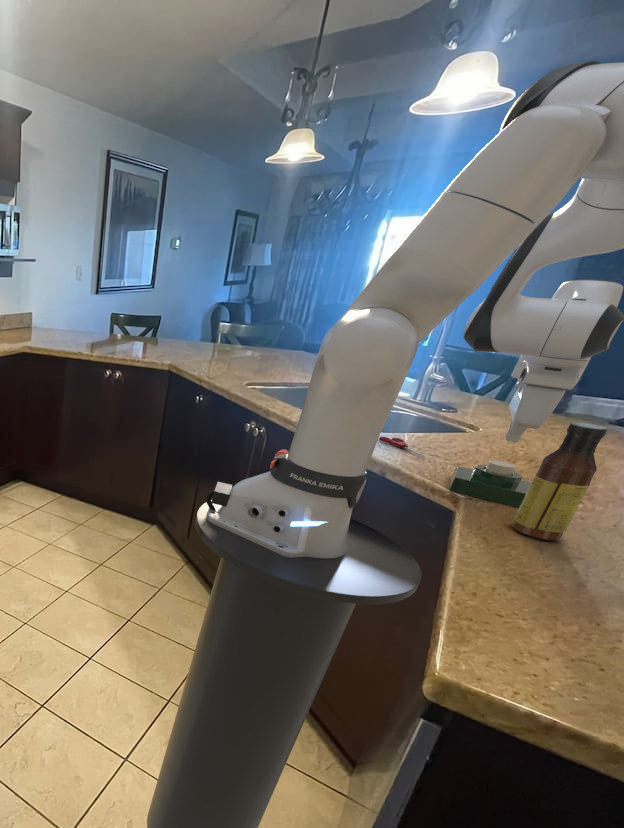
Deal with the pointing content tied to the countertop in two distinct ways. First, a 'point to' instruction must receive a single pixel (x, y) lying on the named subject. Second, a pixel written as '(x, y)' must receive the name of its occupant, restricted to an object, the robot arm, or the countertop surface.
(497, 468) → the white short cylinder
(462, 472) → the base
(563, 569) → the countertop surface
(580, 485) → the sauce bottle
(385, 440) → the scissors
